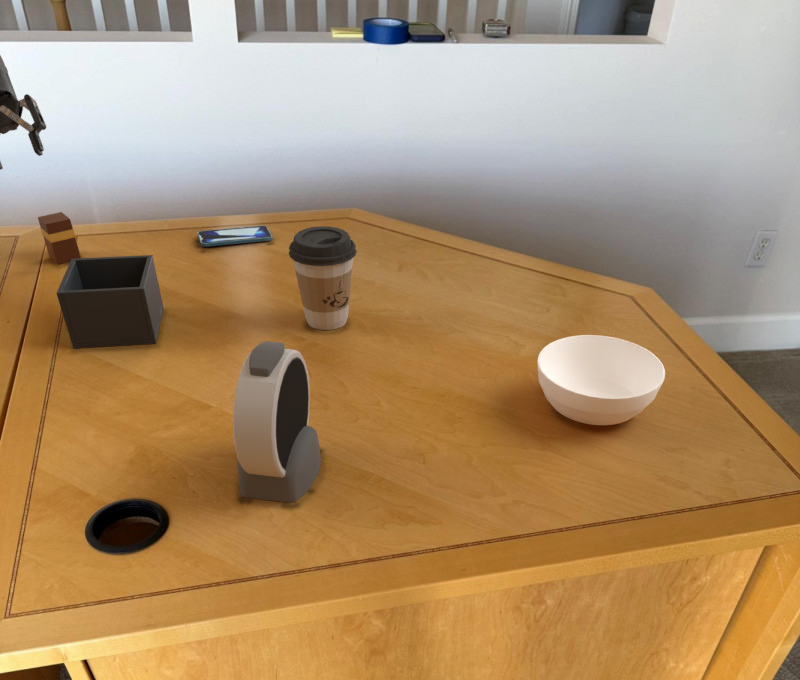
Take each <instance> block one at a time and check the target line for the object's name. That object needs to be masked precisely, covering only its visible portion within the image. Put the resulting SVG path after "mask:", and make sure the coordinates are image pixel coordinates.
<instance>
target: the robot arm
mask: <svg viewBox="0 0 800 680" xmlns="http://www.w3.org/2000/svg"><path fill="white" fill-rule="evenodd" d="M24 109H26V110H27V111H28V112H29V113H30V115H31V118H32V120H33V122H32V124H30V123H29V122H27V121H26V120H25V119H23V118H22V115H23V111H24ZM19 126H20V127H22V128H23V129H24V130H25V131H28V133H27V135H28V138H29V141H30V143H31V146H32V149H33V152H34V153H35V155H37V156H38V157H41V156H44V153H43V152H44V150H45V147H44V144H43V143H42V142H43V141H42V139H41V137H40V133H41V132H42V131H45V130H46V129H47V124H46V122H45V120H44V117H43V115H42V113H41V110H40V108H39V105H38V103H37V101H36V100H35V99H34V97H32V96H31V95H30V94H28V93H26V94H24V96H23V98H21V99H18V98H17V94H16V91H15V89H14V86H13V83H12V80H11V77H10V75H9V70H8V68H7V66H6V64H5V62H4V59H3V57H2V55H1V54H0V134H2V135H5V134H7V133H8V132H12V131H17V130H18V128H19ZM3 169H4V167H3V164H2V162H1V160H0V170H3Z"/></svg>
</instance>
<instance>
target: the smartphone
mask: <svg viewBox="0 0 800 680" xmlns="http://www.w3.org/2000/svg"><path fill="white" fill-rule="evenodd" d="M197 238H198V240H199V243H200V246H201V247H215V246H216V247H217V246H227V245H239V244H248V243H258V242H260V243H261V242H269V241H272V240H273V234H272V232H271V231H270V228H269V227H268V226H267V225H252V226H240V227H239V226H238V227H228V228H218V229H217V228H216V229H205V230H198V231H197Z"/></svg>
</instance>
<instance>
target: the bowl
mask: <svg viewBox="0 0 800 680" xmlns="http://www.w3.org/2000/svg"><path fill="white" fill-rule="evenodd" d="M537 356H538V357H537V360H536V363H537V364H536V365H537V376H538V383H539V386H540V387H541V389H542V392H543V394H544V397H545V399H546V400H547V401H548V403H549V404H550V405H551V406H552V407H553V408H554V410H555V411H556V412H558V413H559V414H560V415H562V416H564V417H566V418H568V419H570V420H573V421H575V422H578V423H581V424H585V425H592V426H612V425H618V424H622V423H625V422H627V421H629V420H631V419H633V418H634V417H636V416H638V415H639V414H641V413H642V412H643V411H644V410H645V409H646V408H647V406H649V405H650V404H651V403H652V402H654V400H655V399H656V397H657V395H658V393H659V391H660V389H661V387H662V386H663V383H664V381H665V380H666V379H665V378H666V369H665V366H664V364H663V363H662V361H661V360H660V358H658V357H657V355H655V354H654V353H653V352H652V351H650V350H649V349H647V348H645V347H644V346H641V345H639V344H636V343H634V342H632V341H628V340H626V339H622V338H618V337H614V336H607V335H599V334H598V335H597V334H596V335H595V334H584V335H583V334H581V335H572V336H565V337H563V338H559V339H556V340H554V341H552V342H550V343H548V344H547V345H546V346H544V347H543V348H542V349H541V351H540V352H539V354H538V355H537Z"/></svg>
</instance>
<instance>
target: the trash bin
mask: <svg viewBox="0 0 800 680" xmlns="http://www.w3.org/2000/svg"><path fill="white" fill-rule="evenodd" d="M68 263H69V264H68V265H67V268H66V270H65V272H64V274H63V277H62V279H61V281H60V284H59V286H58V289H57V290H56V293H55V294H56V297H57V300H58V303H59V307H60V309H61V313H62V316H63V319H64V323H65V326H66V330H67V333H68V336H69V340H70V343H71V346H72V349H73V350H74V349H88V348H91V349H92V348H106V347H123V346H124V347H125V346H140V345H156V344H157V342H158V338H159V332H160V327H161V322H162V318H163V313H164V302H163V299H162V294H161V293H162V292H161V289H160V284H159V280H158V274H157V270H156V264H155V261H154V256H153V254H143V255H125V256H124V255H121V256H100V257H99V256H98V257H81V258H77V259H71V261H70V262H68Z"/></svg>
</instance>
